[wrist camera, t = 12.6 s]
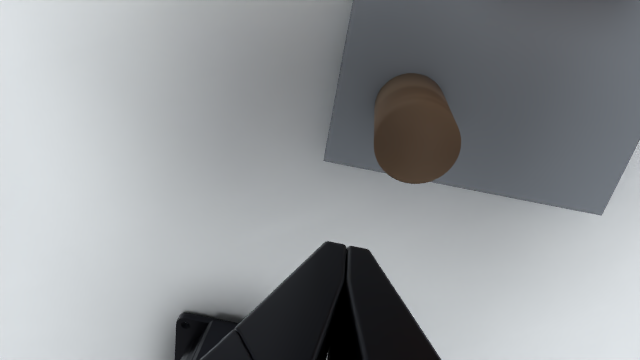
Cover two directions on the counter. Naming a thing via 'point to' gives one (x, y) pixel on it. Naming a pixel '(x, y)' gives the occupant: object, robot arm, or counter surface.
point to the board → (505, 90)
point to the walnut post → (414, 130)
